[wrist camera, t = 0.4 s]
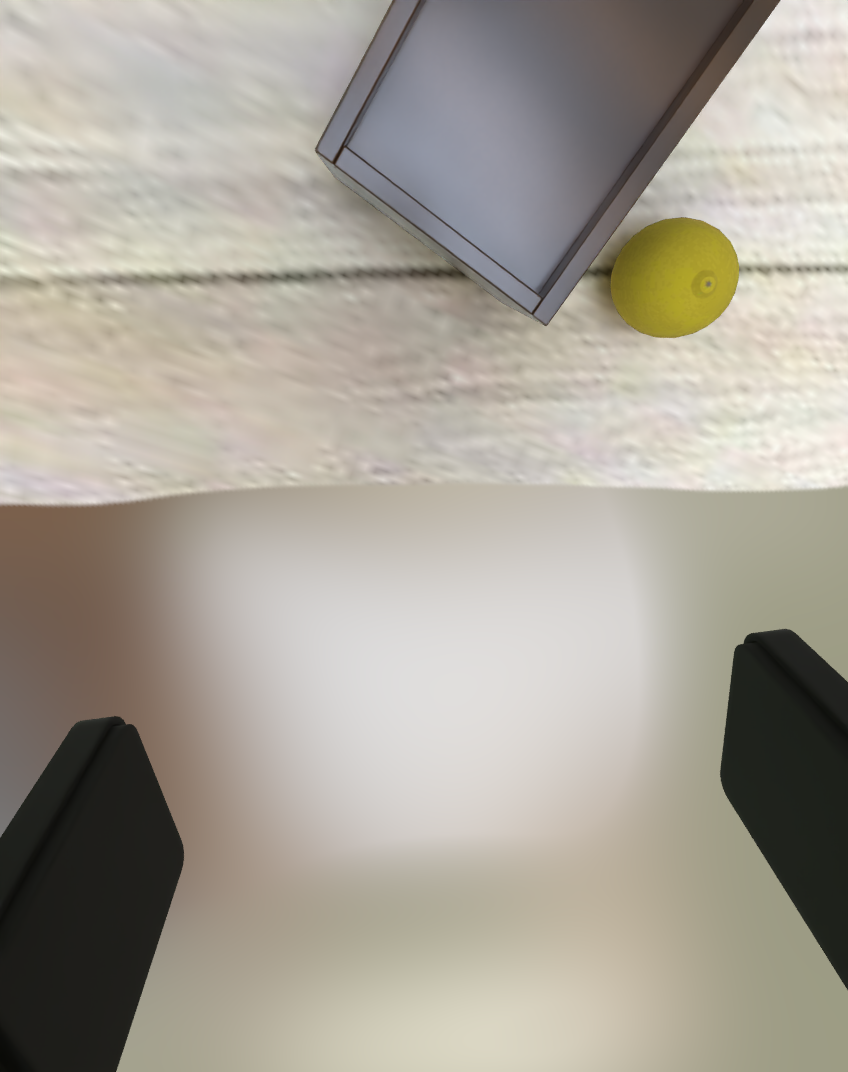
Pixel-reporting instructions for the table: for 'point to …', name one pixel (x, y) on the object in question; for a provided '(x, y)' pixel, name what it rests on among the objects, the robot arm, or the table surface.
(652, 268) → the lemon
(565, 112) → the shelf
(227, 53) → the table surface
